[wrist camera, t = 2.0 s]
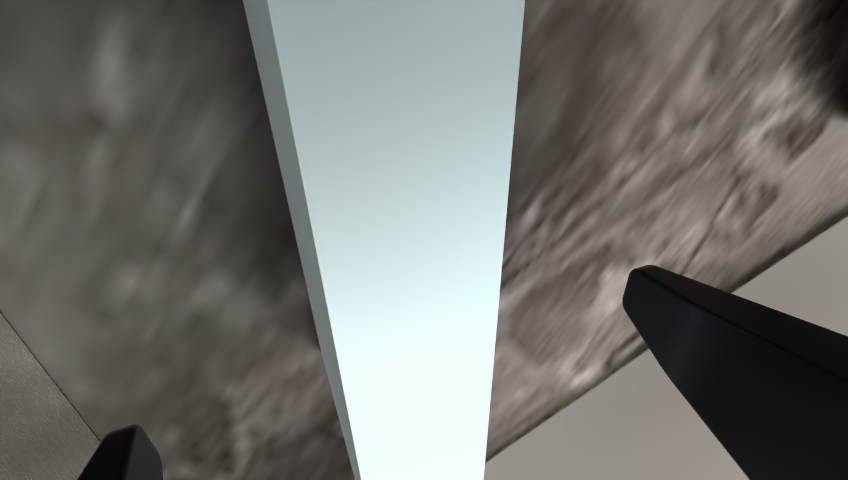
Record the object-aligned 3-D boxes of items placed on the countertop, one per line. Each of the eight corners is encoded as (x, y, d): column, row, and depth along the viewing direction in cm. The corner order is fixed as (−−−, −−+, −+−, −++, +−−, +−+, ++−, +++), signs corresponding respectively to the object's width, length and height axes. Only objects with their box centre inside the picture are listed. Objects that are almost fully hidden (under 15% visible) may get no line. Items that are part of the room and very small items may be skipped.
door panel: (393, 328, 20) (479, 521, 14) (320, 349, 19) (377, 564, 13) (347, -194, 11) (550, -305, 4) (199, -195, 10) (202, -331, 4)
